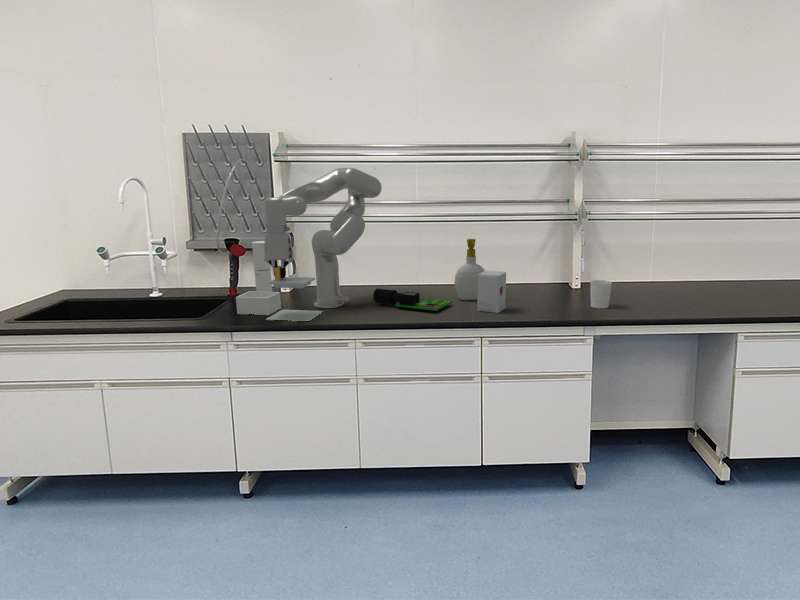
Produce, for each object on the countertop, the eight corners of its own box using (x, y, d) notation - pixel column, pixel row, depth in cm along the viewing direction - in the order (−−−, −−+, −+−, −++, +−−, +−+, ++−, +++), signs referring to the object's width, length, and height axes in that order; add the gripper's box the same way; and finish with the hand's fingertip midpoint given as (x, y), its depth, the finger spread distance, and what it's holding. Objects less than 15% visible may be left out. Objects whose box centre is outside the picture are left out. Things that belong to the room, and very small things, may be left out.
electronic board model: (452, 289, 228) (435, 297, 215) (452, 305, 229) (436, 314, 217) (390, 283, 242) (371, 290, 230) (390, 298, 244) (372, 306, 231)
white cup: (601, 310, 216) (602, 284, 214) (584, 306, 223) (586, 281, 220) (614, 307, 220) (615, 282, 218) (597, 303, 227) (599, 279, 224)
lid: (315, 283, 219) (314, 265, 218) (303, 289, 209) (302, 270, 207) (281, 282, 223) (280, 264, 221) (268, 288, 212) (267, 269, 210)
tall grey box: (268, 298, 251) (264, 243, 245) (254, 297, 252) (249, 243, 247) (275, 294, 258) (270, 241, 252) (260, 294, 259) (256, 241, 253)
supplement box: (498, 313, 215) (499, 275, 212) (476, 311, 219) (477, 273, 216) (506, 308, 223) (506, 271, 219) (485, 306, 227) (485, 270, 224)
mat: (323, 312, 224) (323, 311, 224) (309, 322, 210) (308, 321, 210) (282, 310, 228) (282, 309, 228) (265, 320, 214) (265, 319, 214)
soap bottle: (456, 302, 233) (456, 241, 227) (452, 298, 242) (452, 238, 236) (490, 301, 235) (490, 239, 229) (484, 296, 243) (485, 237, 237)
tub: (281, 308, 231) (279, 292, 230) (269, 315, 221) (267, 298, 219) (250, 307, 235) (249, 291, 233) (237, 314, 224) (235, 297, 223)
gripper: (300, 229, 214) (302, 276, 218) (262, 229, 218) (266, 275, 222) (291, 231, 207) (294, 279, 211) (253, 231, 211) (256, 278, 215)
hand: (280, 277), depth 216 cm, fingers closed on lid
